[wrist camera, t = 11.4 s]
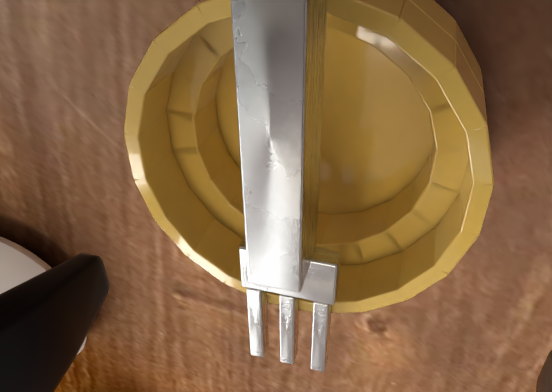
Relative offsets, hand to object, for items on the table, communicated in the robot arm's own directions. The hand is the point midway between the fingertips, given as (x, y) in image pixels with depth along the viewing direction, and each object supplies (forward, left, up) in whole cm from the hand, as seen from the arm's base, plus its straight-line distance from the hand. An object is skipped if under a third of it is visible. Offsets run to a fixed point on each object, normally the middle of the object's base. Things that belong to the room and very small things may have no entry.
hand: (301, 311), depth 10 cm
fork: (+2, +2, -7) cm, 7 cm away
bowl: (+2, +2, -12) cm, 12 cm away
